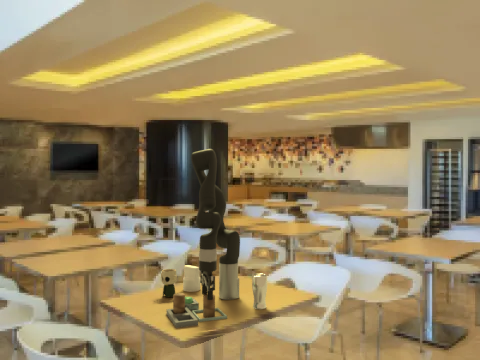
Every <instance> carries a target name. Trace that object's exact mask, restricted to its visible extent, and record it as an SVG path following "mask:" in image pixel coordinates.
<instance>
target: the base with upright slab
mask: <svg viewBox="0 0 480 360" xmlns="http://www.w3.org/2000/svg"><path fill="white" fill-rule="evenodd" d="M183 268H184V269H183V270H184V271H183V278H182V290H183V291H184V292H189V293H191V292H192V293H193V292H199V291H200V290H201V283H200V279H201V276H200V270H199V266H195V265H190V264H187V265H186V264H185V265H183Z"/></svg>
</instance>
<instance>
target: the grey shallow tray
mask: <svg viewBox="0 0 480 360" xmlns="http://www.w3.org/2000/svg"><path fill="white" fill-rule="evenodd" d="M165 312H166V314H165V315H166V316H167V317H168V318H169V320H170V321H171V322H172V324H173V326H174V327H175V329H176V328H185V327H193V326H199V321H198V319H197V318H196V317H195V316H194V315H193V313H192V311H190V310H189V309H188V308H187V307H185V313H180V314H173V308H167V309H166V311H165Z"/></svg>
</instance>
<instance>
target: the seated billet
mask: <svg viewBox="0 0 480 360" xmlns="http://www.w3.org/2000/svg"><path fill="white" fill-rule="evenodd" d="M185 297H186V294H185V293H183V292H179V293H175V294H174V295H173V296H172V306H173V307H172V309H173V314H180V313H185Z"/></svg>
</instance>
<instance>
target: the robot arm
mask: <svg viewBox="0 0 480 360" xmlns="http://www.w3.org/2000/svg"><path fill="white" fill-rule="evenodd" d="M190 158H191V163H192V167H193V169H194V172H195V174H196V177H197V180H198V182H199V185H200V188H199V193H198V198H199V203H198V204H199V206H198V211H197V215H196V218H195V225H196V227H197V228H198V229H201V230H205V229H207V230H208V229H211V231H210V232H208V233H204V234H203V233H202V234H201V235H200V236H199V252H198V267H199V272H200V286H201V294H202V295H206V294H207V299H208V300H213V295H214V291H216V276H215V275H213V272H215V271H216V270H217V269H218V268H219V269H218V270H219V271H218V279H219V280H218V281H219V282H218V297H219V299H221V300H226V301H227V300H228V301H229V300H230V301H232V300H233V301H234V300H237V299H239V298H240V278H239V258H240V253H241V251H240V249H241V247H240V246H241V237H240V233H239V231H237V230H231V229H227V227H226V226H225V221H224V217H225V213H226V211H227V210H226V209H227V201H226V199H225V196H224V192H223V190H222V189H220V188H219V186H218V185H216V182H217V181H216V180H217V171H218V158H217V154H216V152H215V150H214V149H212V148H208V149H207V148H206V149H203V150H202V149H201V150H198V151H194V152H192V153H191V157H190ZM207 170H208V172H207V174H206V172H205V171H207ZM217 247H219V248H221V249H226V253H225V254H224V255H220V256H219V259H218V256H217V255H218V253H217V252H218V251H217ZM217 259H218V260H217ZM217 263H218V265H217ZM218 266H219V267H218ZM217 267H218V268H217Z"/></svg>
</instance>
